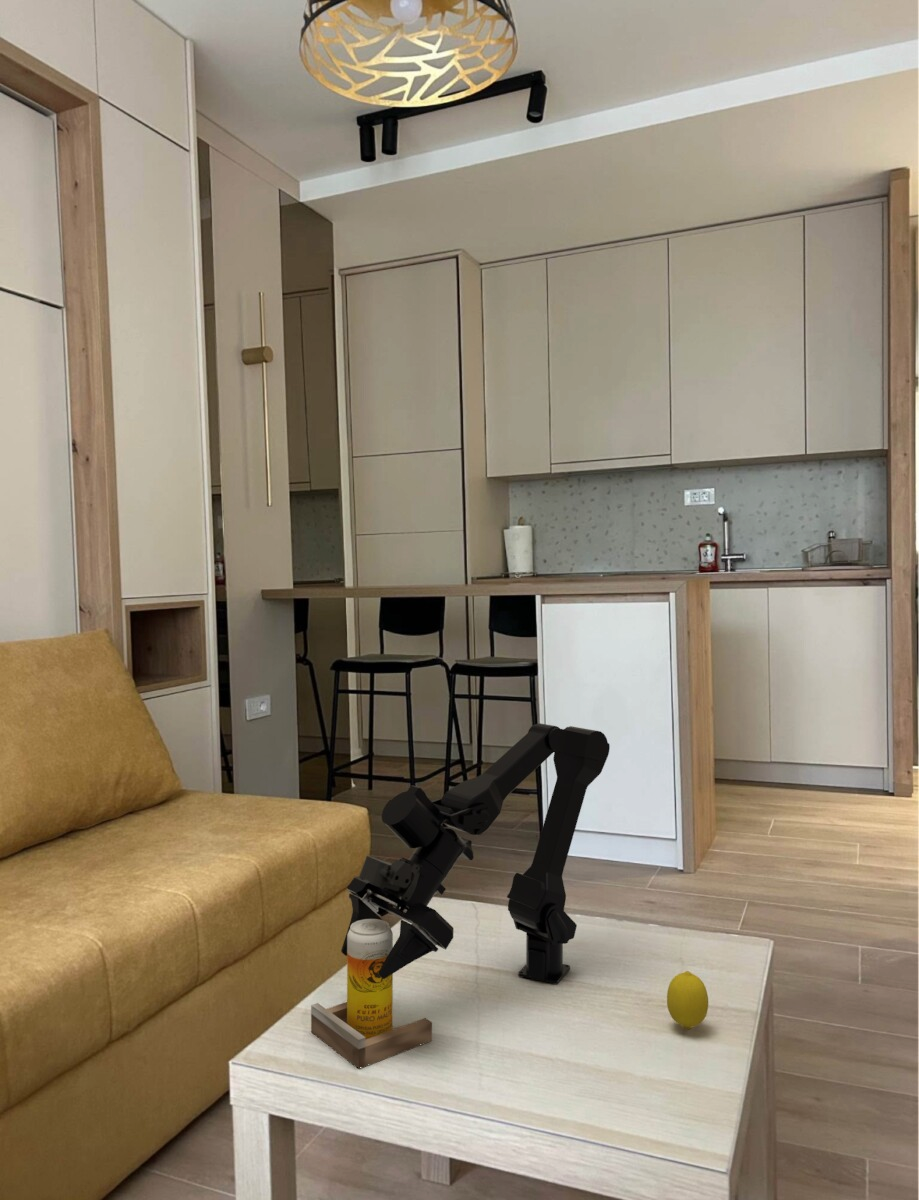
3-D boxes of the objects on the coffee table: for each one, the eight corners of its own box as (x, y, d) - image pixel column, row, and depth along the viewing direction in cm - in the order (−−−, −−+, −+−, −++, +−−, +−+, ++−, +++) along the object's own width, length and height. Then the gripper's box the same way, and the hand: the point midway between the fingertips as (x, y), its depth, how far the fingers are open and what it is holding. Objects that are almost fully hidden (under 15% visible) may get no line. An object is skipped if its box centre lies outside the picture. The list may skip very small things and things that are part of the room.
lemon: (661, 1020, 127) (661, 963, 127) (699, 1019, 127) (700, 962, 127) (674, 1040, 121) (674, 981, 121) (714, 1038, 122) (714, 979, 122)
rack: (381, 1007, 130) (381, 982, 130) (431, 1040, 121) (432, 1013, 121) (311, 1032, 123) (311, 1005, 123) (358, 1069, 114) (358, 1039, 114)
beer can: (358, 1052, 118) (358, 937, 118) (340, 1032, 123) (340, 922, 123) (400, 1040, 121) (400, 929, 121) (380, 1021, 126) (381, 914, 126)
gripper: (358, 819, 131) (289, 912, 124) (436, 849, 117) (363, 956, 110) (402, 863, 136) (339, 954, 130) (482, 897, 122) (415, 1002, 115)
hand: (361, 965), depth 121 cm, fingers open, 9 cm apart
